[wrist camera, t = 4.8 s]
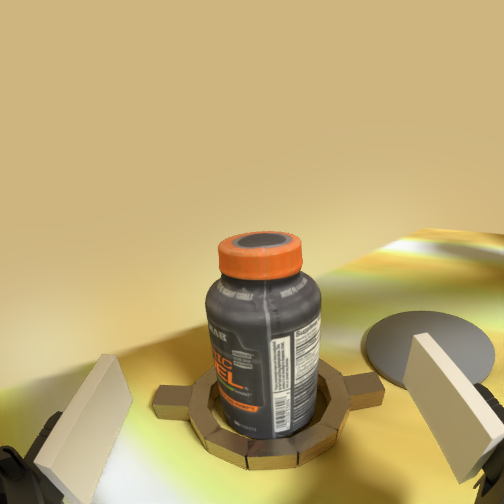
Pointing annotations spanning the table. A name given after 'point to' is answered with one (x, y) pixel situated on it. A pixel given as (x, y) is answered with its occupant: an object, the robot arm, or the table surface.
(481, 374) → the coaster
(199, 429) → the collar
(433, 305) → the table surface
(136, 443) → the table surface
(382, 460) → the table surface
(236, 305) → the pill bottle
